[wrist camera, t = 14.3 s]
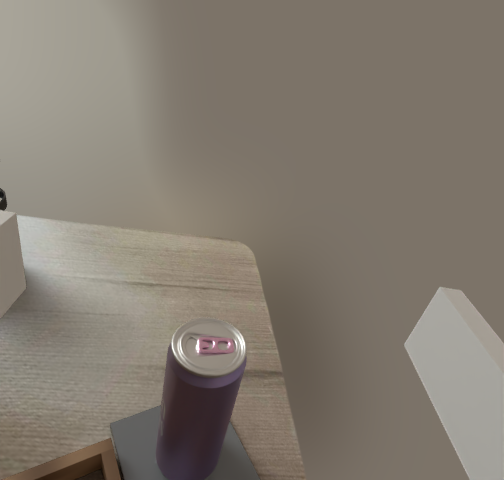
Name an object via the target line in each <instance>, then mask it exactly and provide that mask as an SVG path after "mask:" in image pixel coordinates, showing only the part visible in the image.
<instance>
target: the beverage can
mask: <svg viewBox="0 0 504 480" xmlns="http://www.w3.org/2000/svg"><path fill="white" fill-rule="evenodd" d="M246 351H247V347H246V342H245V339H244V337H243V335H242V334H241V332H240V331H239V330H238V329H237V328H236V327H235V326H233V325H232V324H230V323H228V322H226V321H224V320H221V319H218V318H213V317H200V318H195V319H191V320H189V321H187V322H185V323H183V324H182V325H181V326H180V327H179V328H178V329H177V330H176V331H175V333H174V335H173V337H172V341H171V343H170V345H169V347H168V353H167V361H166V369H165V377H164V386H163V394H162V402H161V411H160V419H159V427H158V435H157V444H156V461H157V465H158V467H159V469H160V471H161V472H162V473H163V475H164V476H165V477H166V478H168V479H169V480H204V479H205V478H207V477H208V476H209V475H210V474H211V473H212V472H213V470H214V469H215V467H216V465H217V463H218V460H219V456H220V453H221V449H222V446H223V442H224V439H225V436H226V432H227V429H228V425H229V422H230V418H231V415H232V411H233V408H234V404H235V401H236V397H237V394H238V390H239V387H240V383H241V380H242V376H243V373H244V369H245V366H246Z"/></svg>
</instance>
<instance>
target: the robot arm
mask: <svg viewBox="0 0 504 480" xmlns="http://www.w3.org/2000/svg"><path fill="white" fill-rule="evenodd" d="M26 288H27V287H26V280H25V273H24V266H23V259H22V252H21V245H20V238H19V231H18V224H17V217H16V213H13V212H8V211H2V210H0V319H1V317H2V316H3V315H4V314H5V313H6V312H7V310H8V309H9V308H10V307H11V306H12V304H13V303H14V302H15V301H16V300H17V299H18V297H19V296H20V295H21V294H22V293H23V291H24V290H25V289H26ZM404 346H405V348H406V350H407V352H408V354H409V356H410V358H411V360H412V362H413V364H414V367H415V369H416V371H417V373H418V375H419V377H420V379H421V381H422V383H423V385H424V387H425V389H426V391H427V393H428V395H429V397H430V399H431V401H432V403H433V405H434V408H435V410H436V412H437V414H438V416H439V418H440V420H441V422H442V424H443V426H444V428H445V430H446V432H447V434H448V436H449V438H450V440H451V442H452V444H453V446H454V449H455V451H456V453H457V455H458V457H459V459H460V461H461V463H462V465H463V467H464V469H465V471H466V473H467V475H468V477H469V479H470V480H504V343H503V342H502V341H501V339H499V337H498V336H497V334H496V333H495V332H494V331H493V330H492V328H491V327H490V326H489V324H488V323H487V322H486V321H485V320H484V318H483V317H482V316H481V315H480V313H479V312H478V311H477V310H476V308H475V307H474V306H473V305H472V303H471V302H470V301H469V300H468V298H467V297H466V296H465V295H464V293H463V292H462V291H461V290H455V289H450V288H444V287H439V289H438V291H437V292H436V294H435V295H434V297H433V299H432V300H431V302H430V304H429V305H428V307H427V308H426V310H425V312H424V313H423V315H422V317H421V318H420V320H419V321H418V323H417V325H416V326H415V328H414V330H413V331H412V333H411V335H410V336H409V338H408V339H407V341H406V342H405V344H404Z"/></svg>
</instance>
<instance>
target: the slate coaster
mask: <svg viewBox="0 0 504 480" xmlns="http://www.w3.org/2000/svg"><path fill="white" fill-rule="evenodd" d="M160 411H161V405H160V406H157V407H155V408H152V409H149V410H146V411H144V412H141V413H138V414H135V415H133V416H130V417H127V418H124V419H121V420H119V421H116V422H113V423H110V428H111V432H112V436H113V440H114V444H115V448H116V452H117V456H118V460H119V464H120V468H121V472H122V476H123V480H169V479H168V478H166V477H165V476H164V475H163V473H162V472H161V471H160V469H159V467H158V465H157V461H156V444H157V435H158V427H159V419H160ZM204 480H260V478H259V476H258V474H257V472H256V470H255V468H254V467H253V465H252V463H251V461H250V459H249V457H248V455H247V453H246V451H245V449H244V447H243V445H242V444H241V442H240V440H239V438H238V436H237V434H236V432H235V430H234V428H233V426H232V424H231V422H229V425H228V429H227V432H226V436H225V439H224V442H223V446H222V449H221V453H220V456H219V460H218V463H217V465H216V467H215V469H214V470H213V472H212V473H211V474H210V475H209V476H208V477H207V478H205V479H204Z"/></svg>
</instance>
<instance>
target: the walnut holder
mask: <svg viewBox="0 0 504 480" xmlns="http://www.w3.org/2000/svg"><path fill="white" fill-rule="evenodd" d="M99 469H102V474H103V478H104V480H121V477H120V473H119V469H118V465H117V461H116V457H115V453H114V449H113V445H112V441H111V438H109V439H106V440H104V441H101V442H98V443H96V444H93V445H91V446H88V447H85V448H83V449H80V450H78V451H75V452H72V453H70V454H67V455H65V456H62V457H59V458H57V459H54V460H52V461H49V462H46V463H44V464H41V465H38V466H36V467H33V468H31V469H28V470H25V471H23V472H20V473H18V474H15V475H12V476H10V477H7V478H5V479H2V480H75V479H77V478H80V477H82V476H84V475H87V474H89V473H92V472H94V471H96V470H99Z"/></svg>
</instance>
